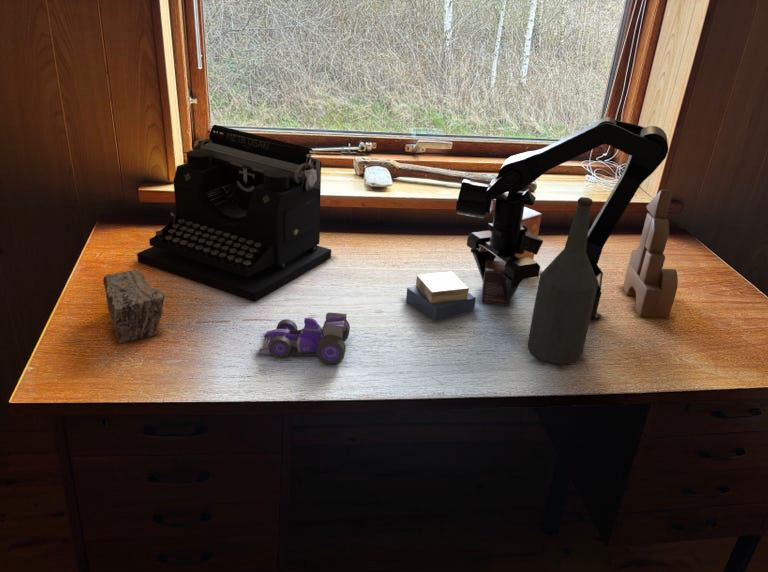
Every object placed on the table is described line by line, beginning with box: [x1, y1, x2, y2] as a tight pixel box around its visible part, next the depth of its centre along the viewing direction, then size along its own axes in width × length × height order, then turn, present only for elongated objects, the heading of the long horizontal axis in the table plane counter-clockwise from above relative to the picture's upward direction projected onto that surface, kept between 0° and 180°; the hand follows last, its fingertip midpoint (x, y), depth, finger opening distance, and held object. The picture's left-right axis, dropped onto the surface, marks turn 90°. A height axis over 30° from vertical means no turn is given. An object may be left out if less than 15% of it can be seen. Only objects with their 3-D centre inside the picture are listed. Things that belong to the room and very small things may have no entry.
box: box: [481, 260, 512, 306], centre depth 155 cm, size 6×6×7 cm
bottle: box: [526, 196, 599, 367], centre depth 131 cm, size 10×10×30 cm
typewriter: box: [136, 124, 332, 303], centre depth 156 cm, size 31×27×25 cm
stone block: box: [102, 269, 166, 344], centre depth 134 cm, size 14×9×8 cm, turn 29°
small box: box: [494, 206, 543, 262], centre depth 168 cm, size 8×6×13 cm
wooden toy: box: [622, 189, 679, 319], centre depth 155 cm, size 16×7×25 cm, turn 2°
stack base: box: [405, 285, 477, 322], centre depth 151 cm, size 10×10×3 cm
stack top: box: [415, 271, 470, 303], centre depth 149 cm, size 8×8×2 cm
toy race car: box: [258, 312, 351, 366], centre depth 131 cm, size 10×15×6 cm, turn 88°
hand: (496, 291), depth 156 cm, fingers closed on box, 8 cm apart
